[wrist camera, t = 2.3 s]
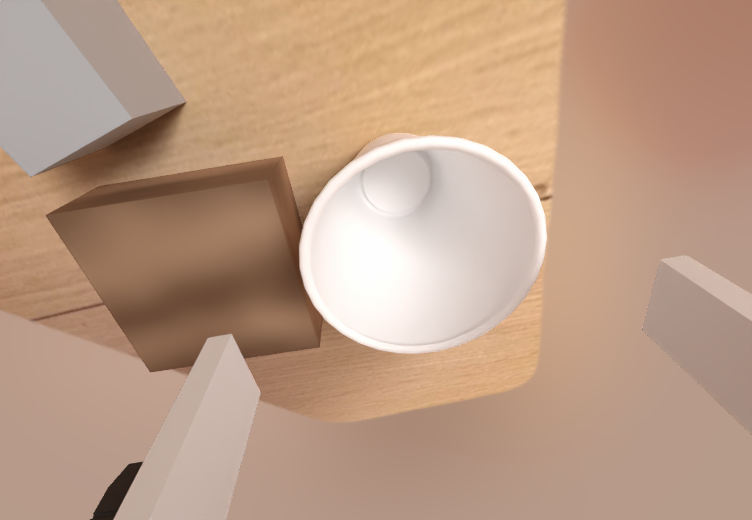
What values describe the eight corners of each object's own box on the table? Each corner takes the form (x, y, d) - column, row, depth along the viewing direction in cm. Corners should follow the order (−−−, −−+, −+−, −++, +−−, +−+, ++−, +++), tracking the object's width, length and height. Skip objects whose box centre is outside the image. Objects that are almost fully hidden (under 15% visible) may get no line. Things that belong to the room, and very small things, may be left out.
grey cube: (19, 43, 19) (-105, 40, 14) (106, -16, 18) (8, -42, 13) (106, 147, 22) (30, 177, 17) (186, 101, 21) (132, 118, 16)
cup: (394, 269, 27) (415, 385, 18) (289, 182, 24) (245, 270, 14) (500, 177, 24) (594, 259, 15) (398, 58, 20) (438, 65, 11)
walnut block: (102, 184, 23) (45, 215, 19) (283, 155, 23) (267, 179, 19) (180, 324, 29) (150, 372, 25) (324, 303, 29) (319, 347, 25)
